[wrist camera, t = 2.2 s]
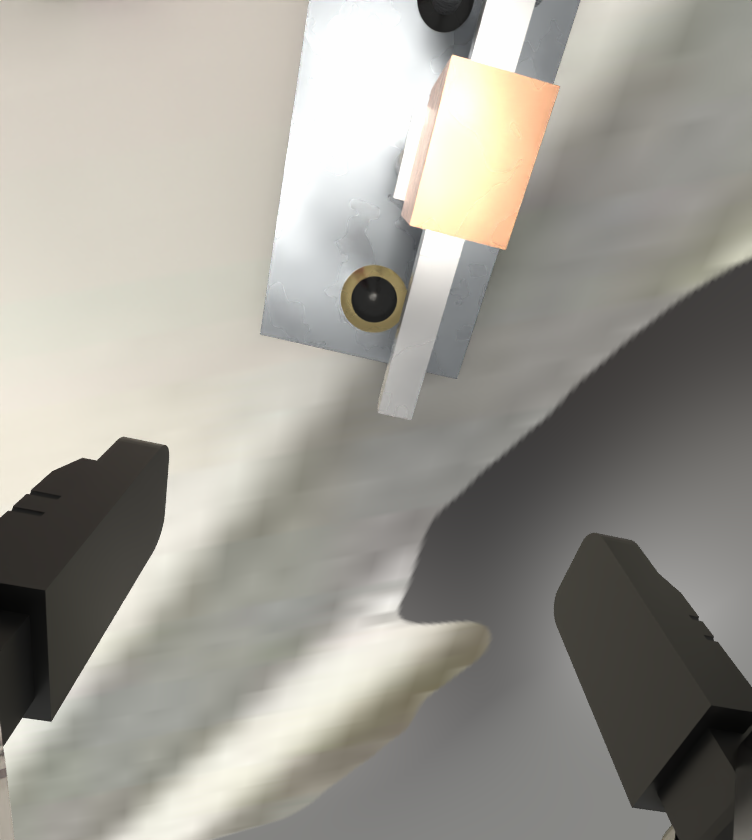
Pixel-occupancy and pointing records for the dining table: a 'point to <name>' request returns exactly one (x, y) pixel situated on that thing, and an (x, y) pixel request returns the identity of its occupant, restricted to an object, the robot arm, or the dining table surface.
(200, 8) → the dining table surface
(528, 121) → the block
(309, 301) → the bolt plate
